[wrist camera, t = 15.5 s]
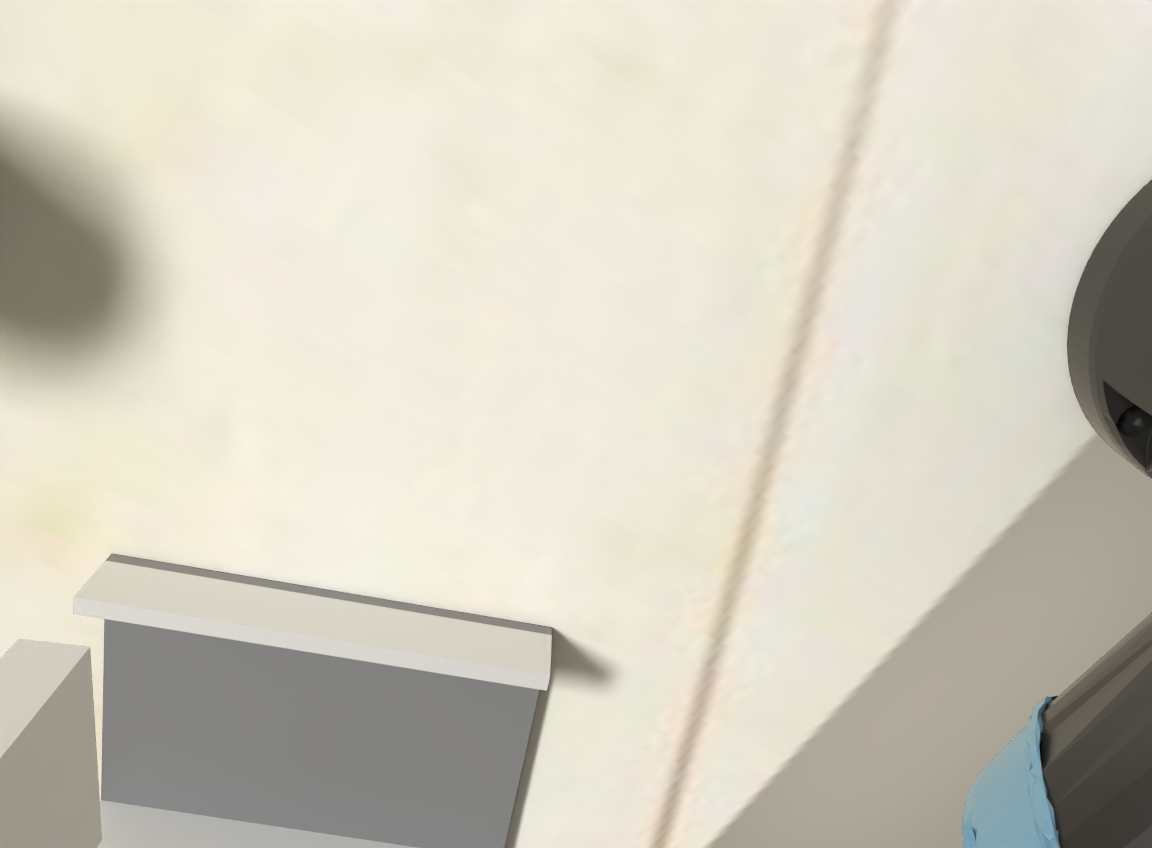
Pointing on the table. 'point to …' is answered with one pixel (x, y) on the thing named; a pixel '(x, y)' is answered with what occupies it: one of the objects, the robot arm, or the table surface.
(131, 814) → the slot rack
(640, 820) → the table surface
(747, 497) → the table surface
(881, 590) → the table surface
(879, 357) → the table surface
